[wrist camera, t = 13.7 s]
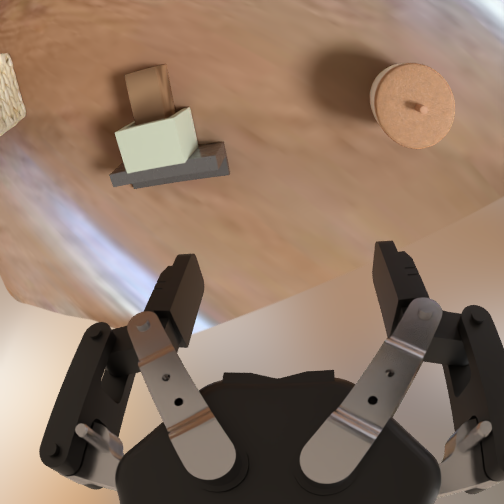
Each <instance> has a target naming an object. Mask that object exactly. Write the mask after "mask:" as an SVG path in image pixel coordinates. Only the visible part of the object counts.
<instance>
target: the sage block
mask: <svg viewBox="0 0 504 504" xmlns="http://www.w3.org/2000/svg"><path fill="white" fill-rule="evenodd" d="M115 136H116V139H117V143H118V146H119V149H120V152H121V156H122V159H123V162H124V165H125V168H126V172H127V174H128V173H133V172H138V171H143V170H148V169H153V168H158V167H164V166H170V165H175V164H181V163H185V162H186V161H187V160H188V158H189V157H190V156H191V155H192V153H193V152H194V151H195V150H196V148H197V147H198V142H197V138H196V133H195V129H194V124H193V120H192V115H191V110H190V107H188V108H183V109H182V110H180V111H178V112H177V113H175V114H174V115H172V116H171V117H169V118H165V119H161V120H157V121H153V122H148V123H144V124H140V125H137V126H136V125H135V121H133V122H132V123H130V124H128V125H126V126H125V127H123V128H121V129H120V130H118V131H117V132H115Z"/></svg>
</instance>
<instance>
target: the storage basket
mask: <svg viewBox="0 0 504 504" xmlns="http://www.w3.org/2000/svg"><path fill="white" fill-rule="evenodd" d="M7 59H8V60H7ZM25 116H26V110H25V106H24V103H23V101H22V97H21V93H20V91H19V86H18V83H17V79H16V75H15V72H14V69H13V63H12V60H11V58H10V55H9V54H8V53H5V54H0V136H2V135H3V134H4V133H6V132H7V131H8V130H10V129H11V128H12V127H14V126H15V125H16V124H17V123H18V121H20V120H21V119H23V118H24V117H25Z"/></svg>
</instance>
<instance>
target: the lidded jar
mask: <svg viewBox="0 0 504 504" xmlns="http://www.w3.org/2000/svg"><path fill="white" fill-rule="evenodd" d="M370 106H371V109H372V113H373V115H374V117H375V119H376V121H377V122H378V124H379V125H380V127H381V128H382V129H383V130H384V132H385V133H386V134H387V135H388V136H389V137H390V138H391V139H392V140H393V141H395V142H396V143H398V144H400V145H402V146H404V147H408V148H413V149H423V148H427V147H430V146H432V145H435V144H436V143H438V142H439V141H440V140H442V139H443V138H444V137H445V135H446V134H447V133H448V131H449V130H450V128H451V125H452V123H453V120H454V115H455V102H454V97H453V94H452V91H451V89H450V87H449V85H448V83H447V82H446V80H445V79H444V78H443V77H442V76H441V75H440V74H439V73H438V72H437V71H435V70H434V69H432V68H430V67H428V66H425V65H422V64H417V63H401V64H395V65H392V66H389V67H388V68H386V69H384V70H383V71H382V72H380V73H379V74H378V76H377V77H376V78H375V80H374V81H373V84H372V86H371V90H370Z"/></svg>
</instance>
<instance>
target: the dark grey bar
mask: <svg viewBox="0 0 504 504" xmlns="http://www.w3.org/2000/svg"><path fill="white" fill-rule="evenodd" d="M225 175H230V171H229V166H228V161H227V155H226V150H225V145H224V142H219V143H212V144H206V145H200V146H198V147H197V148H196V150H195V151H194V152H193V153H192V155H191V156H190V157H189V158H188V160H187V161H186V162H185V163H181V164H175V165H170V166H164V167H158V168H153V169H148V170H143V171H138V172H133V173H128V174H127V172H126V168H125V165H124V162H123V163H122V164H121V165H120V166H119V167H118V168H116V169H115V170H114V171H113V172H112V173H111V174H110V175H109V176H110V179H111V182H112V184H113V187H117V186H122V185H127V184H133V187H134V189H137V188H143V187H149V186H155V185H161V184H167V183H174V182H180V181H187V180H194V179H202V178H209V177H217V176H225Z"/></svg>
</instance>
